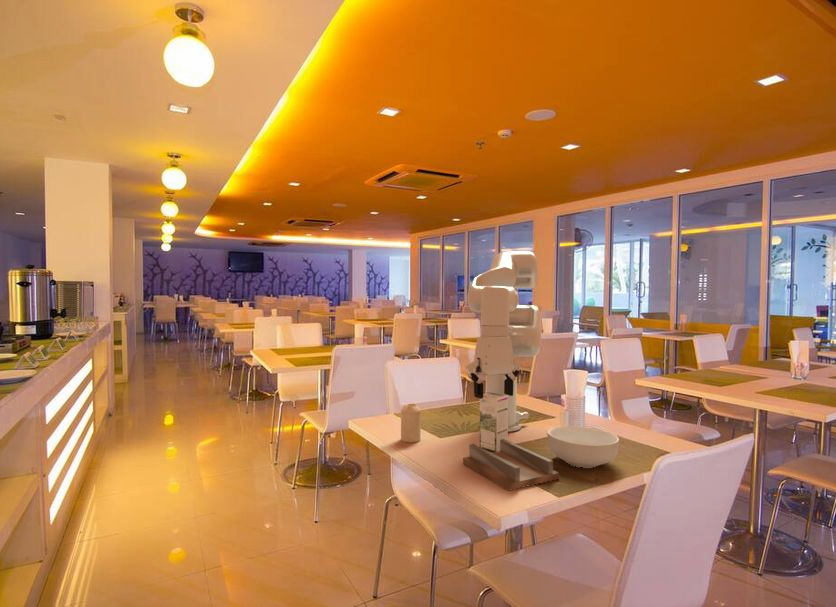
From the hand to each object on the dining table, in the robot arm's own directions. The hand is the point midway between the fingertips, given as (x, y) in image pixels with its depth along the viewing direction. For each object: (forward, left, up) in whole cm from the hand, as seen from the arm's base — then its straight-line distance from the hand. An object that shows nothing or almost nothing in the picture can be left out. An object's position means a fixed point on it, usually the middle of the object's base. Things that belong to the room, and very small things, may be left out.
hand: (493, 396), depth 133 cm
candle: (+17, -16, -14) cm, 27 cm away
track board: (+7, +16, -14) cm, 22 cm away
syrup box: (0, 0, -14) cm, 14 cm away
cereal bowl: (-13, +19, -14) cm, 27 cm away
